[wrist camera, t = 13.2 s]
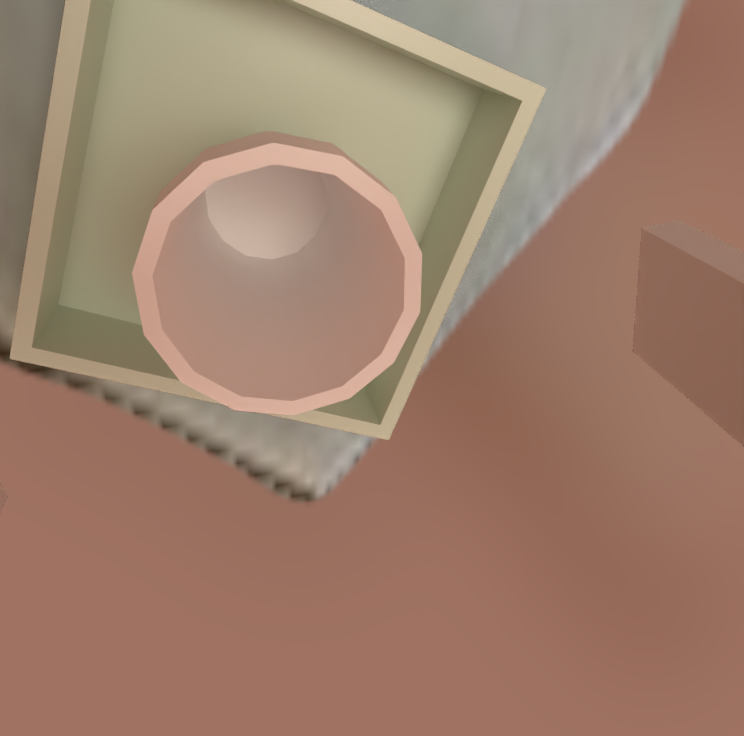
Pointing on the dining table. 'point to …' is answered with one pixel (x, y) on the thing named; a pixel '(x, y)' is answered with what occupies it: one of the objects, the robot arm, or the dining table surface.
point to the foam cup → (277, 275)
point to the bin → (238, 119)
